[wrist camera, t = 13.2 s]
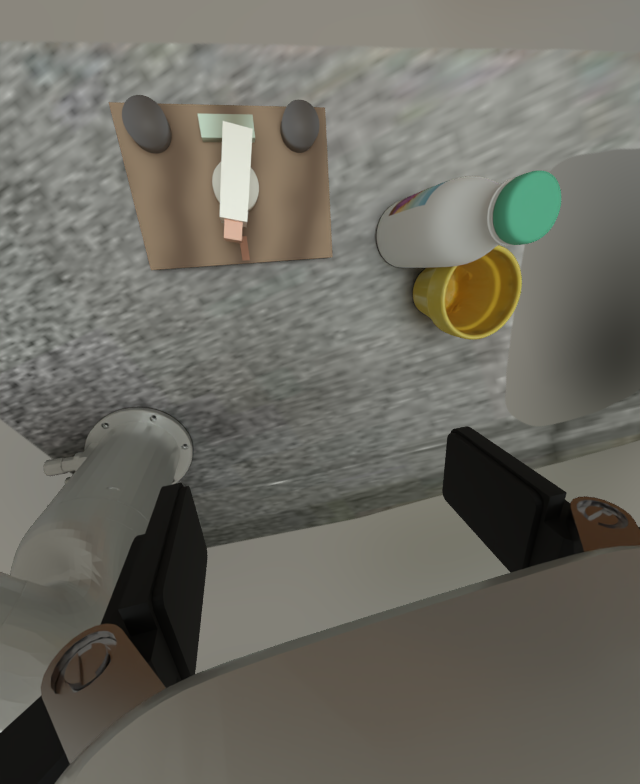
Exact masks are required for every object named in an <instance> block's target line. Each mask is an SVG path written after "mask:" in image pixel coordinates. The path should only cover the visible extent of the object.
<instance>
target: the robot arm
mask: <svg viewBox="0 0 640 784" xmlns="http://www.w3.org/2000/svg"><path fill="white" fill-rule="evenodd" d="M153 415H155V416H156V417H154V416H153ZM107 423H108V424H107ZM185 444H187V445H185ZM192 456H193V446H192V441H191V438H190V436H189V434H188V432H187V431H186V429H185V428H184V427H183V426H182V425H181V424H180V423H179V422H178V421H177V420H176V419H174V418H173V417H171V416H170V415H168V414H165V413H163V412H161V411H158V410H154V409H150V408H140V407H137V408H126V409H122V410H118V411H116V412H113V413H111V414H109V415H107V416H106V417H104V418H103V419H101V420H100V421H99V422H98V423H97V424H96V425H95V426H94V427H93V429H92V430H91V431H90V433H89V435H88V437H87V439H86V442H85V448H84V452H78V453H76V454H75V456H73V457H67V458H66V457H64V458H58V459H52V460H47V461H46V462H45V464H44V472H45V474H46V475H47V476H53V475H58V474H65V473H67V472H72V471H76V472H75V473H74V474H73V475H72V477H68V478H66V480H65V485H64V487H63V488H62V489H61V490H60V492H59V493H58V494H57V495H56V497H55V498H54V499H53V500H52V502H51V503H50V504H49V505H48V506H47V508H46V509H45V510H44V512H43V513H42V514H41V515H40V517H39V518H38V519H37V520H36V521H35V522H34V524H33V525H32V526H31V527H30V529H29V530H28V531H27V533H26V534H25V536H24V537H23V539H22V541H21V543H20V544H19V547H18V549H17V551H16V554H15V557H14V561H13V564H12V567H11V574H10V575H7V574H4V573H2V572H0V784H640V527H638V526H637V524H636V522H635V520H634V519H633V518H632V516H631V515H630V514H629V513H627V512H626V511H625V510H624V509H622V508H620V507H619V506H617V505H615V504H613V503H610V502H608V501H605V500H602V499H598V498H595V497H587V496H586V497H585V496H584V497H577V498H574V499H573V500H572V501H571V503H569V502H567V501H566V500H565V497H566V492H565V491H563V490H562V489H560V488H559V487H557V486H556V485H555V484H553V483H552V482H550V481H549V480H547V479H546V478H544V477H543V476H541V475H540V474H538V473H537V472H535V471H534V470H532V469H531V468H529V467H528V466H527V465H525V464H524V463H522V462H521V461H519V460H518V459H516V458H515V457H513V456H512V455H510V454H509V453H507V452H506V451H504V450H503V449H501V448H500V447H498V446H497V445H496V444H494V443H493V442H491V441H490V440H488V439H487V438H485V437H484V436H482V435H481V434H479V433H478V432H476V431H475V430H473V429H472V428H470V427H461V428H456V429H453V430H452V431H451V434H449V435H448V437H447V447H446V458H445V469H444V480H443V496H444V498H445V500H446V501H447V502H448V504H449V505H450V506H451V507H452V508H453V509H454V510H455V511H456V512H457V514H458V515H459V516H460V517H461V518H462V519H463V520H464V521H465V522H466V524H467V525H468V526H469V527H470V528H471V529H472V530H473V531H474V532H475V533H476V535H478V537H479V538H480V539H481V540H482V541H483V542H484V544H485V545H486V546H487V547H488V548H489V549H490V550H491V551H492V552H493V554H494V555H495V556H496V557H497V558H498V559H499V560H500V561H501V562H502V564H503V565H504V566H505V567H506V568H507V569H508V570H509V571H510V572H511V573H509V574H505V575H501V576H498V577H495V578H492V579H488V580H485V581H482V582H479V583H475V584H472V585H468V586H465V587H462V588H458V589H455V590H452V591H449V592H446V593H442V594H439V595H436V596H432V597H429V598H426V599H423V600H419V601H416V602H413V603H410V604H406V605H403V606H400V607H397V608H393V609H390V610H387V611H384V612H381V613H377V614H374V615H371V616H368V617H365V618H361V619H358V620H355V621H352V622H349V623H345V624H342V625H339V626H336V627H333V628H329V629H326V630H323V631H320V632H317V633H314V634H311V635H307V636H304V637H301V638H298V639H295V640H291V641H288V642H285V643H282V644H279V645H277V646H273V647H270V648H267V649H264V650H261V651H258V652H255V653H252V654H249V655H246V656H244V657H241V658H238V659H234V660H231V661H229V662H226V663H223V664H220V665H218V666H215V667H213V668H210V669H208V670H205V671H202V672H200V673H197V674H195V670H196V661H197V651H198V641H199V632H200V623H201V612H202V604H203V595H204V585H205V576H206V567H207V548H206V544H205V540H204V537H203V533H202V530H201V526H200V522H199V519H198V515H197V512H196V508H195V504H194V501H193V497H192V494H191V490H190V487H189V486H185V487H184V486H183V484H182V483H177V482H178V481H179V480H180V479H181V478H182V477H183V476H184V475H185V474H186V472H187V471H188V469H189V467H190V464H191V461H192ZM176 483H177V484H176Z"/></svg>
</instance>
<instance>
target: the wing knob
mask: <svg viewBox="0 0 640 784" xmlns="http://www.w3.org/2000/svg"><path fill="white" fill-rule="evenodd" d="M252 133H253V129H252V128H248V127H244V126H240V125H237V124H233V123H229V122H225V121H223V127H222V157H221V162H220V163H219V164H218V165H217V167H216V168H215V170H214V173H213V177H212V185H213V190H214V193H215V196H216V198H217V200H218V202H219V203H220V219H221V222H222V223H224V239H225V241H231V242H236V243H241V242H242V227H246V226H247V219H248V211H250V210H251V209H252V208H253V207H254V205H255V203H256V201H257V197H258V193H259V184H258V179H257V177H256V174H255V173H254V171H253V169H252V168H251V150H252Z"/></svg>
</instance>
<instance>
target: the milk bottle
mask: <svg viewBox="0 0 640 784" xmlns="http://www.w3.org/2000/svg"><path fill="white" fill-rule="evenodd" d="M560 206H561V190H560V187H559V184H558V181H557V180H556V178H555V177H554V176H553V175H552V174H550V173H548V172H546V171H533V172H529V173H526V174H523V175H520V176H518V177H514V178H511V179H509V180H507V181H505V182H504V183H503V184H501V183H497V182H495V181H493V180H490V179H488V178H485V177H479V176H465V177H460V178H455V179H452V180H449V181H446V182H444V183H441V184H438V185H436V186H433V187H431V188H428V189H426V190H424V191H421V192H419V193H417V194H414V195H412V196H409V197H407V198H405V199H403V200H400V201H398V202H396V203H394V204H393V205H391V206H390V207H389V208H388V209H387V210H386V211H385V212H384V214H383V215H382V217H381V219H380V222H379V224H378V228H377V245H378V249H379V251H380V253H381V255H382V257H383V258H384V259H385V260H386V261H387V262H388V263H389V264H391V265H393V266H395V267H400V268H431V267H451V266H459V265H464V264H468V263H470V262H473V261H475V260H477V259H479V258H481V257H483V256H484V255H486V254H487V253H489V252H490V251H491V250H492V249H494V248H495V247H496V246H498V245H500V244H501V245H506V246H509V245H521V244H528V243H532V242H534V241H537V240H539V239H540V238H542V237H543V236H544V235H545V234H546V233H548V231H549V230H550V229H551V228H552V226H553V225H554V223H555V221H556V219H557V216H558V214H559V211H560Z"/></svg>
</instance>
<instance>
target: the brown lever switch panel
mask: <svg viewBox="0 0 640 784" xmlns="http://www.w3.org/2000/svg"><path fill="white" fill-rule="evenodd" d="M109 105H110V109H111V113H112V117H113V121H114V125H115V129H116V133H117V137H118V141H119V145H120V149H121V153H122V157H123V161H124V165H125V169H126V173H127V177H128V181H129V185H130V189H131V193H132V197H133V201H134V205H135V209H136V212H137V216H138V220H139V224H140V228H141V232H142V236H143V240H144V244H145V248H146V252H147V256H148V260H149V264H150V268H151V270H161V269H175V268H189V267H203V266H218V265H232V264H246V263H260V262H274V261H288V260H302V259H317V258H329V257H332V239H331V219H330V199H329V178H328V158H327V138H326V118H325V108H320V107H313V106H312V105H311V104H310V103H308V102H306V101H304V100H295V101H292V102H291V103H290V104H288V106H287V107H278V106H237V105H196V104H157V103H156V102H155V101H153V100H152V99H150V98H149V97H146V96H143V95H135V96H132V97H130V98H129V99H127V100H126V102H125V103H113V102H109ZM223 121H225V122H229V123H233V124H237V125H240V126H244V127H248V128H252V129H253V133H252V150H251V168H252V169H253V171H254V173H255V174H256V177H257V179H258V184H259V193H258V197H257V201H256V203H255V205H254V207H253V208H252V209H251V210H250V211H248V219H247V226H246V227H242V242H241V243H236V242H231V241H225V239H224V223H222V222H221V219H220V203H219V202H218V200H217V198H216V196H215V193H214V190H213V185H212V177H213V173H214V170H215V168H216V167H217V165H218V164H219V163H220V162H221V157H222V127H223Z"/></svg>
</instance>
